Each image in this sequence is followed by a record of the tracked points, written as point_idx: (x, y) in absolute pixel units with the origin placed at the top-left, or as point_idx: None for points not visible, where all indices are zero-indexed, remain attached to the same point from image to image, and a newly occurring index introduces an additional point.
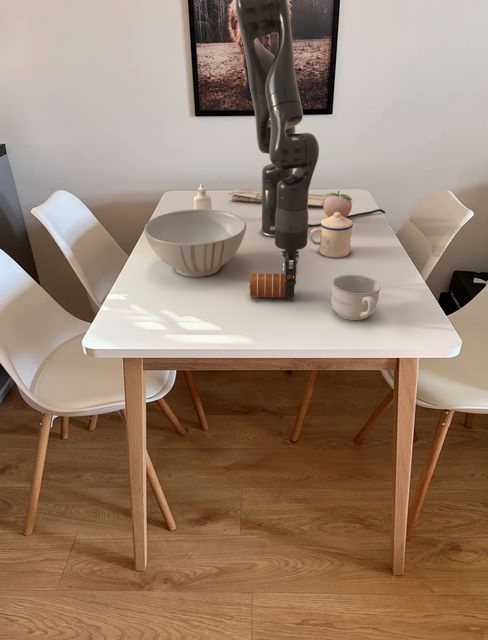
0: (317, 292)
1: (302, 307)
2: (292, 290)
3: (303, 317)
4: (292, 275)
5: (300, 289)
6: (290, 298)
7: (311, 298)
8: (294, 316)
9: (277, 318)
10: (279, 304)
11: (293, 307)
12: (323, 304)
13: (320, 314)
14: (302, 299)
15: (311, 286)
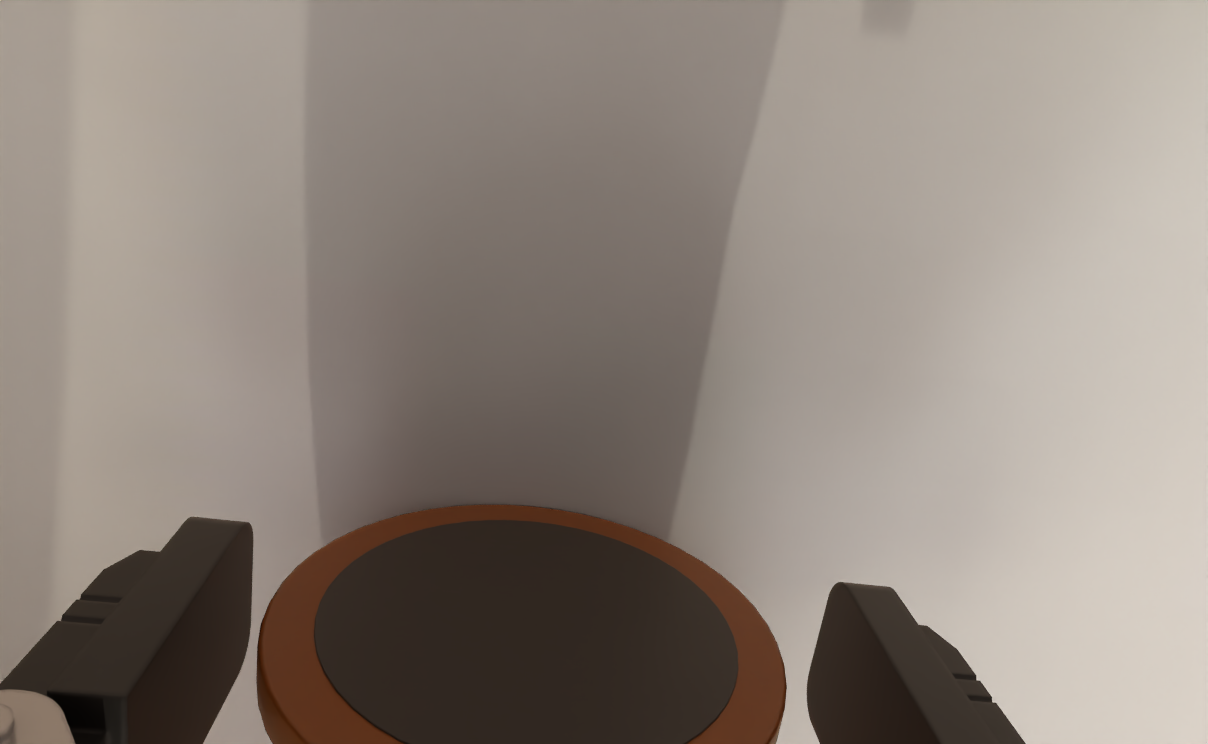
0: (367, 32)
1: (878, 384)
2: (1006, 724)
3: (1166, 414)
4: (196, 625)
5: (239, 321)
6: (660, 549)
7: (598, 191)
8: (1103, 524)
9: (1091, 720)
10: None
11: (851, 506)
12: (848, 23)
13: (1160, 150)
14: (617, 344)
15: (102, 99)
